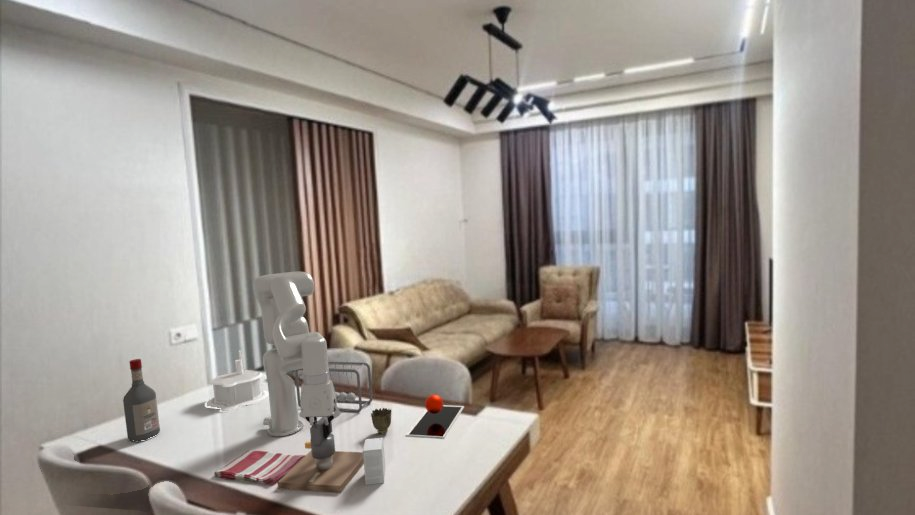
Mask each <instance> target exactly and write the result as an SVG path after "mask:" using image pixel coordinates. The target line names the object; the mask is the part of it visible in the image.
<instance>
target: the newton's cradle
mask: <svg viewBox="0 0 915 515" xmlns="http://www.w3.org/2000/svg"><path fill="white" fill-rule="evenodd" d="M329 365H332V366H330V367H329V372H333V373H337V374H338V376H340V375H339V373H345V375H346V376H348V374H347V373H350V374H351V375H350V378H352V376H353V375H352V374H353V373H354V374H355V375H356V384H357V395H358V400H357V399H356V394H355V393H354V392H352V391H351V387H348V388H349V389H348V390H349V393H346V392H344V391H343V387H340V390H341V392H340V393H339V392H338V391H335V395H336V401H337V403H351V404H358V407H359V408H358V409H356V408H340V407H339V408H338V409H339V411H340V412H346V413H360V412H361V411H362V410H363V407H364V406H366V405H367V404H371V403H372V402H373V389H372V388H373V387H372V376H371V375H372V374H371V367H370V364H369V363H367V362H364V361H363V362H360V361H357V362H356V361H355V362H353V361H329V360H328V366H329ZM336 366H341V367H336ZM344 366H348V368H344ZM352 366H357V368H352ZM363 366H366V368H367V380H368V391H369V392H368V394H369V400H363V399H362V388H361V378H360V377H361V376H360V372H359V371H358V369H360V368H361V367H363ZM342 367H343V368H342ZM299 371H303V368H301V369H297V370H294V376H295V390H296V400H297V407H299V408H300V409H301V404H300V398H301V389H300V382H299V380H300V379H299ZM329 377H332V375H331V373H329ZM338 379H339V381H341V380H340V379H341V378H340V377H338ZM346 379H347V380H346V381H349V379H348V377H346ZM330 380H333V379H332V378H330ZM339 384H340V385H339V386H342V384H341V382H339ZM347 384H348V386H350V384H349V382H347Z"/></svg>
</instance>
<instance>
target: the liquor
mask: <svg viewBox="0 0 915 515" xmlns="http://www.w3.org/2000/svg"><path fill="white" fill-rule="evenodd" d="M142 368H143V365H142V359H141V358H136V359H131V360H129V369H130V372H131V373H130V374H131V387H130V388H129V389H128V391H127V392H126V394H125V395H124V396H123V399H122V403H123V410H124V419H125V426H126V435H127V440H128V441H129V440H134V441H141V440H146V439H148V438H150V437H153V436H155V435H157V434H158V433H159V434H160V432H161V426H160V419H159V409H158V401H157V393H156V391H155V390H154V389H153V388H151V387H150V386H148V385H147V384H146V383H145V381H144V377H143V370H142ZM159 434H158V435H159ZM155 437H156V436H155ZM153 438H154V437H153ZM134 441H133V442H134ZM146 441H147V440H146Z"/></svg>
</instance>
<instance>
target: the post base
mask: <svg viewBox="0 0 915 515" xmlns="http://www.w3.org/2000/svg"><path fill="white" fill-rule="evenodd" d="M363 466H364V460H363V451H362V452H361V451H339V450H338V451H337V450H335V453H334V454H333V455H332V456H330V457H327V458H323V459H316V458H313V457H312V452H311V450H309V452H308V453H307V454H306V456H305V457H304V458H303V459H302V460H300V461H299V462H298V463H297V464H296V465H295V466H294V467H293V468H292V469H291V470H290V471H289V472H288V473H287V474H286V475H285V476H284V477H283V478H282V479H281V480H280V481H278V482H277V487H278V488H277V489H279V490H297V491H310V492H328V493H342V492H343V491H344V490H345V488H346V487H348V485H349V483H350V482H351V481H352V479H353V478H354V477H355V475H356V474H357V473H358V472H359V470H360V469H361V468H362V467H363Z"/></svg>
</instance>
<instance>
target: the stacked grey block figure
mask: <svg viewBox="0 0 915 515" xmlns="http://www.w3.org/2000/svg"><path fill="white" fill-rule="evenodd" d="M332 422H333V421H331V422H330V425H331V433H330V435H329V436H328V437H327V438H324V431H323V426H324V417H320V418H319V420H317V422H316V423H315V424H314V425H313V426H311V427H310V428H309V430H310V431H309V432H310V441H305V443H304V448H305V449H310V451H311V452H312V457H313V458H316V459H323V458H327V457H330V456H332V455H333V454H334V453H335V451H336V446H335V445H336V444H335V435H334V434H333V424H332Z"/></svg>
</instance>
